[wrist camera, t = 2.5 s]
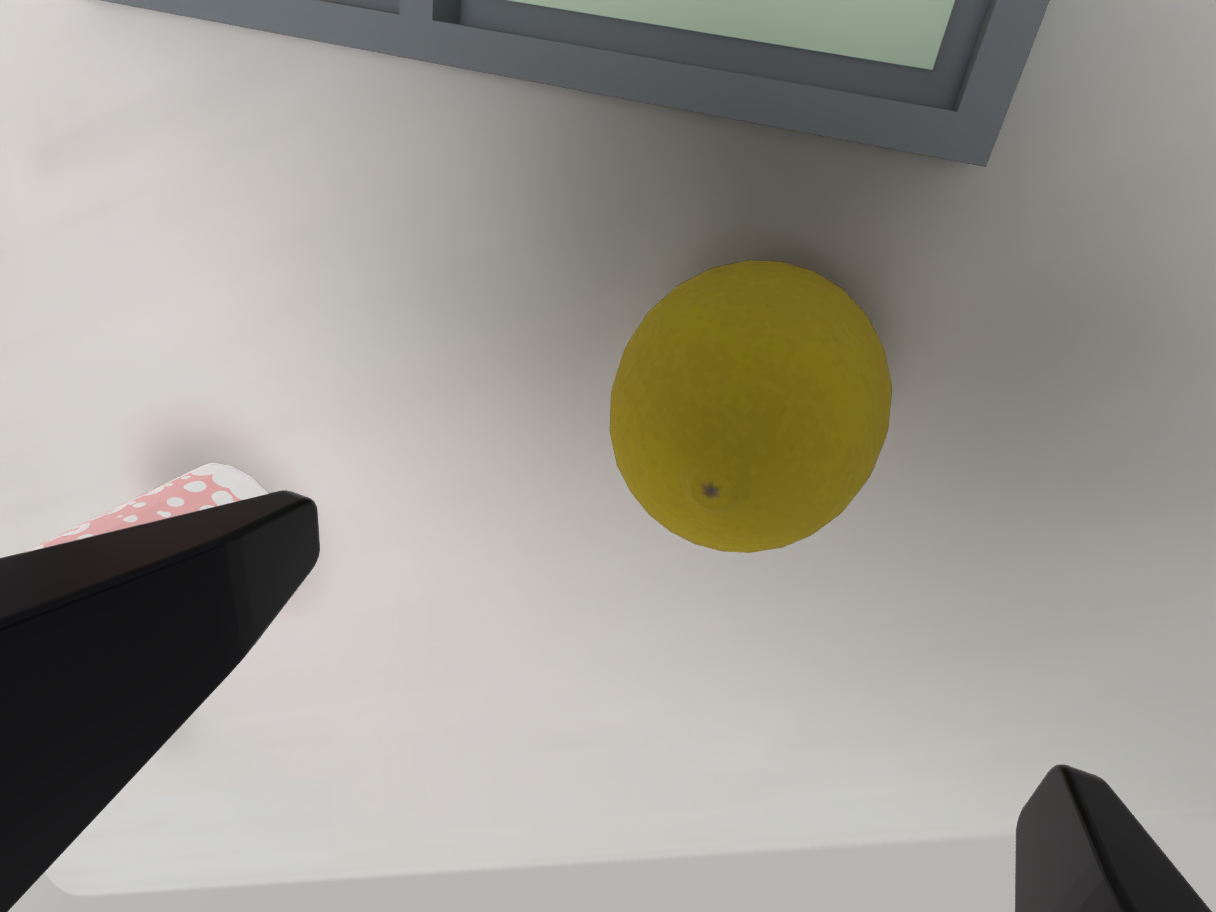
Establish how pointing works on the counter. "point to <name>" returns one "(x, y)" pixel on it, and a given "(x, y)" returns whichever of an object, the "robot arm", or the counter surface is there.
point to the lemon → (750, 406)
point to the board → (711, 55)
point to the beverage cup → (170, 501)
